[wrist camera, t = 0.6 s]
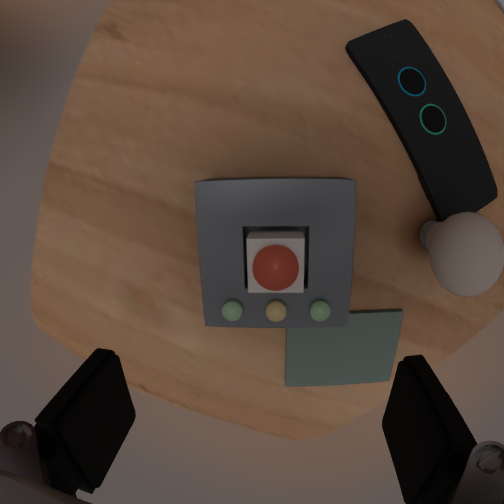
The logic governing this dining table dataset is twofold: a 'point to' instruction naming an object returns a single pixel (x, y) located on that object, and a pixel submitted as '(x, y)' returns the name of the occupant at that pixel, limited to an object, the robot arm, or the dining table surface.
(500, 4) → the candlestick
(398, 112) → the smart home device
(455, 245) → the light bulb
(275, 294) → the grey button control box
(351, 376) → the mat
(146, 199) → the dining table surface
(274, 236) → the button
